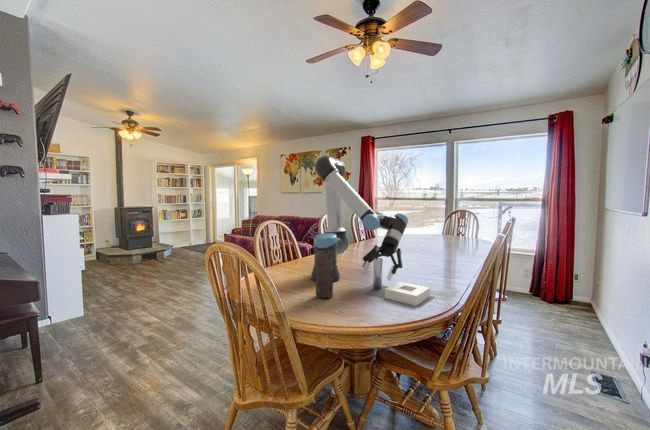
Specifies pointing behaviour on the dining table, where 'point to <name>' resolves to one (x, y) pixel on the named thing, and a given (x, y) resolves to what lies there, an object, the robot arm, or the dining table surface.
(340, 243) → the robot arm
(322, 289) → the candle
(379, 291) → the mat
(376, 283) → the pin
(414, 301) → the hole block
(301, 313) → the dining table surface
